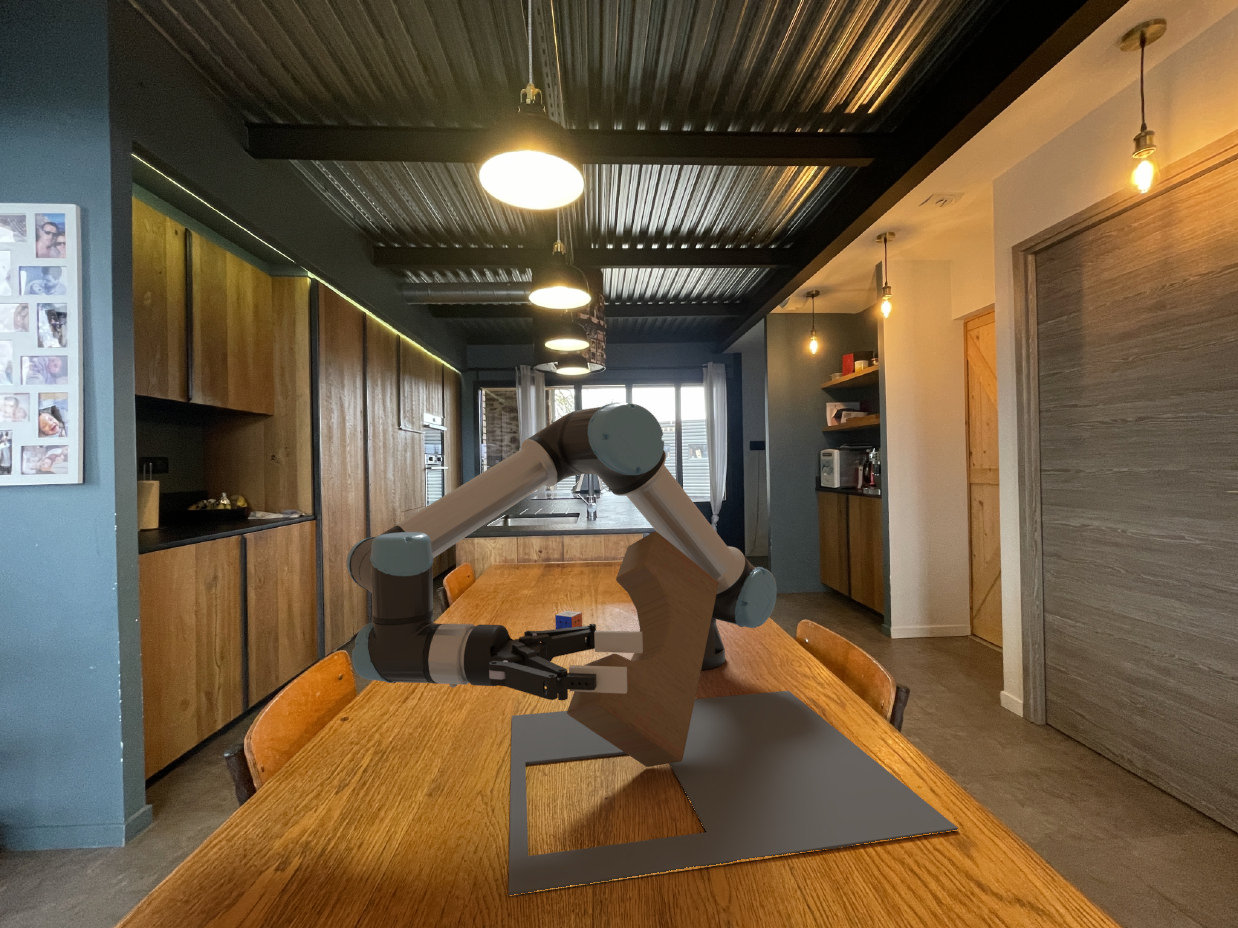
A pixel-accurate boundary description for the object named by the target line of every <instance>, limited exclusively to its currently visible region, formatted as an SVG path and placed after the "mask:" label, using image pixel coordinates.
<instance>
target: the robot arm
mask: <svg viewBox="0 0 1238 928" xmlns="http://www.w3.org/2000/svg"><path fill="white" fill-rule="evenodd" d="M663 436H664V432H663V429H662V427H661V424H660V423H659V420H658V419H657V418H656V416H655V415H654V414H653V413H652V412H651V411H650V410H648V409H647V408H646V407H644V406H642V405H639V404H636V403H631V402H612V403H607V404H605V405H602V406H598V407H591V408H590V407H589V408H584V409H583V408H582V409H577V410H574V411H571V412H569V413H566V414H565V415H563V416H561V417H559V418H557V419H556V420H554V422H552V423H550V424H548V425H547V426H545V427H543V428H541V430H539V431H537V432H536V433H535V434H533V435H531V436H530V437H528V438H527V439H525V440H524V441H522V443H521V447H520V449H519V450H518V451H516V452H514V453H513V454H511V455H509V456H508V457H505V458H504V459H503V460H501V461H500V462H497V464H495V465H493V466H492V467H490V468H488V469H486V470H485V471H483V472H482V473H479V474H478V475H476V476H475V477H473V478H472V479H470V480H468V481H467V482H465V483H463V484H462V485H460V486H459V487H457V488H455V489H453V490H452V491H450V492H448V493H447V494H445V495H443V496H442V497H440V498H438V499H437V500H435V501H433V502H432V503H430V504H428V505H427V506H425V507H423V508H422V509H421V510H419V511H417V512H416V513H413V514H412V515H410V516H409V517H407V518H405V519H403V520H402V521H401V522H398V523H397V524H396V525H394V526H393V527H390V528H389V529H387V530H385V531H384V532H382V533H381V534H379V535H376V536H372V537H371V536H370V537H367V538H364V539H362V540H359V541H357V543H355V544H354V545H353V546H352V547H351V549H350V550H349V552H348V554H347V557H346V562H345V563H346V569H347V573H348V575H349V576H350V578H351V579H352V581H353V582H354V583H355V584H357V586H358V587H361V588H363V589H366V590H368V591H369V593H371V596H372V597H371V598H372V612H373V613H372V622H369V623H367V624H365V625H364V626H362V628H360V630H359V631H358V633H357V635H356V637H355V639H354V643H355V646H354V648H353V649H352V652H351V653H352V654H351V656H352V657H351V658H352V659H351V660H352V665H353V669H354V670H355V672H356V674H357V675H358V676H359V677H360V678H362V679H365V680H369V681H378V682H385V683H388V684H392V683H393V684H396V683H404V684H405V683H412V684H415V683H416V684H422V683H423V684H434V685H435V684H437V685H438V684H439V685H441V684H443V685H445V684H446V685H447V684H448V685H449V687H450V688H457V685H464V686H465V685H468V684H470V685H471V686H475V687H476V686H481V687H506V688H510V689H512V690H515V691H520V692H523V693H526V694H529V695H532V696H535V697H539V698H542V699H546V700H548V701H554V700H558V701H566V700H568V699H569V693H568V692H574V691H576V692H599V693H623V694H626V693H627V667H612V666H584V665H582V664H579V665H575V664H569V667H568V669H567V668H566V667H563V666H560V665H558V664H556V663H554V662H552V661H553V659H554V658H557V657H562V656H565V655H571V654H575V653H580V652H586V651H589V650H594V652H595V653H615V654H618V653H619V654H620V653H622V654H634V653H642V652H643V640H642V632H640V631H634V630H633V631H629V630H597V624H596V623H589V624H588V625H582V626H581V627H572V628H562V629H556V628H554V629H545V630H526V631H524V633H523V634H524V635H523V636H520V637H518V638H515V639H513V638H512V637H511V635H510V634H509V631H508V629H507V628H506V626H504V625H503V624H477V625H475V624H473V623H438V622H437V623H436V622H434V599H433V597H434V595H433V594H434V593H433V589H434V588H433V586H434V585H433V583H434V580H433V579H434V578H433V576H434V575H433V563H434V559H435V558H436V557H437V556H439V555H441V554H442V553H444V552H445V551H446V550H448V549H450V548H451V547H453V546H454V545H456V544H457V543H459V542H460V541H462V540H463V539H464V538H466V537H468V536H469V535H471V534H472V533H474V532H475V531H477V530H478V529H480V528H481V527H483V526H484V525H486V524H487V523H489V522H491V521H492V520H493V519H495V518H497V517H498V516H500V515H501V514H502V513H505V512H506V511H507V510H509V509H510V508H512V507H514V506H515V505H516V504H518V503H519V502H521V501H522V500H524V499H525V498H527V497H528V496H530V495H531V494H533V493H535V492H536V491H538V490H539V489H540V488H542V487H543V486H545V487H554V486H556V485H557V484H558V483H560V482H561V481H563V480H567V478H570V477H574V476H579V475H596V476H597V477H599V480H601V481H602V482H603V483H604V485H605V486H606V487H607V489H609V490H610V491H611V493H613V495H615V496H620V497H625V496H626V497H627V498H628V500H629V501H630V502H631V503H632V504H633V505H634V507H635V508H636V510H638V512H640V514H641V515H642V516H643V518H645V520H646V521H647V522H648V523H649V525H650V526H651V527H652V528H653V529H654V530H655V531H656V532H658V533H659V534H660V535H662V536H663V537H664V538H665V539H667V540H668V541H669V542H670V543H671V544H673V545H674V546H675V547H676V548H678V549H679V550H680V551H681V552H682V553H684V554H685V555H686V556H687V557H688V558H690V559H691V560H692V561H693V562H695V563H696V564H697V565H698V566H699V567H701V568H702V569H703V570H704V571H706V572H707V573H708V574H709V575H710V576H712V577H713V578H714V579H715V580H716V581H718V582H719V584H718V589H717V594H716V599H715V604H714V609H713V614H712V619H711V623H710V628H709V633H708V638H707V643H706V648H705V653H704V658H703V663H702V667H701V671H703V670H711V669H714V668H717V667H719V666H722V665H723V664H724V663H725V661H726V650H725V649H726V648H725V646H724V643H723V640H722V637H721V634H720V631H719V628H718V624H717V620H718V621H721V622H726V623H729V624H731V625H736V626H738V627H740V628H749V629H755V628H759V627H761V626H762V625H764V624H765V623H766V622H767V621H768V619H769V618H770V617H771V615H772V613H773V611H774V609H775V605H776V601H777V595H778V594H777V593H778V592H777V591H778V590H777V581H776V578H775V576H774V574H773V573H772V572H771V571H770V570H768V569H767V568H764V567H763V566H754V565H753V564H751V562H750V561H749V560H748V558H747V557H746V556H745V554H744V553H743V552H742V551H741V550H740V549H739V548H737V547H734V546H728V545H727V544H726V543H725V541H724V540H723V539H722V538H721V536H720V535H719V534H718V532H717V531H716V530H715V528H714V527H713V526H712V525H711V523H710V522H709V521H708V519H707V518H706V516H704V514H703V513H702V512H701V510H700V509H699V508H698V507H697V505H696V504H695V503H694V502H693V500H692V499H691V498H690V496H689V495H688V494H687V493H686V491H685V490H684V489H683V487H682V486H681V485H680V484H679V482H678V481H677V480H676V478H675V477H674V475H673V474H672V473H671V472H670V470H669V469H668V468H667V467H666V465H665V464H666V460H667V454H666V453H667V452H666V451H665V449H664V448H665V440H663ZM545 687H546V688H545Z"/></svg>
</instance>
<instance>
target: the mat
mask: <svg viewBox="0 0 1238 928" xmlns="http://www.w3.org/2000/svg"><path fill="white" fill-rule="evenodd" d="M510 736H511V742H510V743H511V744H510V745H511V749H510V750H511V751H510V791H509V792H510V795H509V796H510V797H509V800H510V801H509V803H510V805H509V808H510V809H509V810H510V811H509V847H508V848H509V852H508V853H509V854H508V855H509V857H508V858H509V859H508V861H509V862H508V896H509V895H514V894H521V893H528V892H534V891H537V890H545V889H550V888H558V887H566V886H570V885H579V884H590V883H593V882H601V881H609V880H612V879H619V878H627V877H632V876H639V875H645V874H651V873H657V872H659V873H660V872H666V871H669V870H670V871H671V870H676V869H684V868H686V867H688V868H689V867H693V866H694V867H696V866H706V865H707V866H709V865H716V864H720V863H721V864H723V863H729V862H733V861H737V860H741V859H749V858H755V857H756V858H757V857H765V856H772V855H773V856H775V855H782V854H783V855H784V854H787V853H788V854H789V853H790V854H791V853H800V852H807V851H811V850H812V851H813V850H814V851H815V850H823V849H824V850H825V849H833V850H836V849H835V848H839V847H840V849H842V848H841V847H847V846H852V845H853V846H854V845H856V844H864V843H869V842H870V843H871V842H875V841H880V840H888V839H889V840H890V839H892V840H893V839H896V838H901V837H902V838H903V837H910V836H911V837H912V836H915V835H923V834H929V833H931V834H932V833H937V832H938V833H940V832H946V831H950V830H951V831H952V830H957V829H958V830H959V827H958V826H956V824H954V823H953V822H951V821H950V820H949V819H948V818H946V816H945V815H943V814H941V813H940V812H939V811H938V810H936V809H935V808H934V807H933V806H932V805H930V804H929V803H928V802H927V801H926V800H925V799H923V798H922V797H921V796H920V795H918V793H916V792H915V791H913V790H912V789H910V788H909V787H908V786H907V785H906V784H905V783H903V782H902V781H901V780H900V779H899V778H897V777H896V776H895V775H893V773H891V772H890V771H888V770H887V769H886V768H885V767H883V766H882V764H880V763H878V761H876V760H875V759H874V758H873V757H872V756H870V755H869V754H868V753H867V752H865V751H864V750H863V749H861V748H860V747H859V746H858V745H857V744H855V743H854V742H852V740H851V739H849V738H848V737H846V736H845V735H844V734H843V733H841V732H840V731H839V730H838V729H837V728H836V727H834V726H833V725H832V724H830V723H829V722H828V721H827V720H825V719H824V718H823V717H822V716H821V715H820V714H818V713H817V712H815V711H814V710H813V709H812V708H811V707H810V706H808V704H805V702H803V701H802V700H801V699H800V698H798V697H797V695H795V694H793V693H792V692H791V691H790V690H782V691H767V692H760V693H748V694H737V695H727V696H725V695H724V696H716V697H704V698H703V697H702V698H695V702H694V707H693V712H692V716H691V721H690V726H689V731H688V736H687V741H686V746H685V751H684V755H683V759H682V761H681V762H675V763H669V764H668V765H670V767H671V769H672V771H673V773H674V775H675V777H676V779H677V778H678V779H677V781H678V780H679V781H678V782H680V783H679V784H681V785H680V787H681V786H682V787H683V788H682V787H681V788H682V790H683V789H684V790H683V792H684V791H685V792H686V794H687V796H688V798H689V800H690V801H691V803H692V805H693V807H694V809H695V811H696V813H695V815H696V814H697V815H698V817H699V819H700V821H701V823H702V825H703V827H704V829H705V831H706V832H705V831H704V832H698V833H690V834H682V835H676V836H668V837H661V838H652V839H644V840H637V841H632V842H622V843H615V844H609V845H601V846H594V847H593V846H592V847H585V848H578V849H571V850H563V851H555V852H548V853H540V854H535V855H534V854H533V855H529V836H528V835H529V834H528V832H529V831H528V805H527V804H528V802H527V800H528V799H527V776H526V773H527V771H526V769H527V768H526V766H527V765H529V766H530V765H538V764H547V763H549V764H550V763H557V762H567V761H575V760H586V759H594V758H603V757H613V756H623V755H627V754H626V753H625V752H623V751H622V750H620V749H619V748H617V747H616V746H614V745H613V744H611V743H610V742H608V741H607V740H605V739H604V738H602V737H601V736H599V735H598V734H596V733H595V732H593V731H592V730H590V729H589V728H587V727H586V726H584V725H583V724H581V723H580V722H578V721H577V720H575V719H574V718H572V717H571V716H569V715H568V714H567V710H562V711H561V710H560V711H549V712H538V713H527V714H517V715H515V714H513V715H511V735H510ZM685 792H684V793H685ZM686 794H685V795H686ZM687 796H686V797H687ZM688 798H687V799H688ZM689 800H688V801H689ZM695 811H694V812H695ZM697 815H696V816H697ZM698 817H697V818H698ZM699 819H698V820H699ZM700 821H699V822H700ZM701 823H700V824H701ZM702 825H701V826H702ZM703 827H702V828H703ZM704 829H703V830H704ZM854 847H855V846H854ZM847 848H848V847H847Z"/></svg>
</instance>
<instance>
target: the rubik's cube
mask: <svg viewBox="0 0 1238 928" xmlns="http://www.w3.org/2000/svg"><path fill="white" fill-rule="evenodd" d="M554 619H555V629H562V628H572V627H581V626H583V612H581V611H575V610H574V611H573V610H564V611H562V612H559V613H557V614H555V618H554Z"/></svg>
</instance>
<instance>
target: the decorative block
mask: <svg viewBox="0 0 1238 928" xmlns="http://www.w3.org/2000/svg"><path fill="white" fill-rule="evenodd" d="M615 581H616V582H617V583H618V584H619V585H620V587H621V588H623V590H625V592H626V593H627V594H628V596H629V598H630V599H631V602H632V603H633V606H634V607H635V610H636V614H637V621H638V624H639V625H638V626H639V632H642V640H643V652H642V653H632V657H631V659H629V658H626V657H625V656H623V655H620V654H618V653H611V654H609V655H607V656H603V657H601V658H599V659H596V660H593V661H591V662H587V663H586V664H584V665H583V666H612V667H627V693H626V694H623V693H599V692H576V691H573V695H572V697H571V700H570V702H569V705H568V708H567V710H566V711H567V714H568V715H569V716H571V717H572V718H574V719H575V720H577V721H578V722H580V723H581V724H583V725H584V726H586V727H587V728H589V729H590V730H592V731H593V732H595V733H596V734H598V735H599V736H601V737H602V738H604V739H605V740H607V741H608V742H610V743H611V744H613V745H614V746H616V747H617V748H619V749H620V750H622V751H623V752H625V753H626V754H625V755H628V756H629V757H631V758H632V759H634V760H635V761H637V762H638V763H640V764H641V765H643V766H644V767H645V768H650V767H655V766H656V767H657V766H662V765H670V764H669V763H675V762H681V761H682V759H683V755H684V751H685V746H686V741H687V736H688V731H689V726H690V721H691V716H692V712H693V707H694V702H695V699H696V697H697V691H698V686H699V681H700V677H701V671H702V670H701V667H702V663H703V658H704V653H705V648H706V643H707V638H708V633H709V628H710V623H711V619H712V614H713V609H714V604H715V599H716V594H717V589H718V584H719V582H718V581H716V580H715V579H714V578H713V577H712V576H710V575H709V574H708V573H707V572H706V571H704V570H703V569H702V568H701V567H699V566H698V565H697V564H696V563H695V562H693V561H692V560H691V559H690V558H688V557H687V556H686V555H685V554H684V553H682V552H681V551H680V550H679V549H678V548H676V547H675V546H674V545H673V544H671V543H670V542H669V541H668V540H667V539H665V538H664V537H663V536H662V535H660V534H659V533H658V532H656V530H655V531H653V532H651V533H649V534H648V535H646V536H644V537H642V538H641V539H638V540H636V541H635V542H633V543H632V544H630V545H628V546H627V548H626V551H625V553H624V557H623V559H622V561H621V564H620V567H619V569H618V572H617V576H616V578H615Z"/></svg>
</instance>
